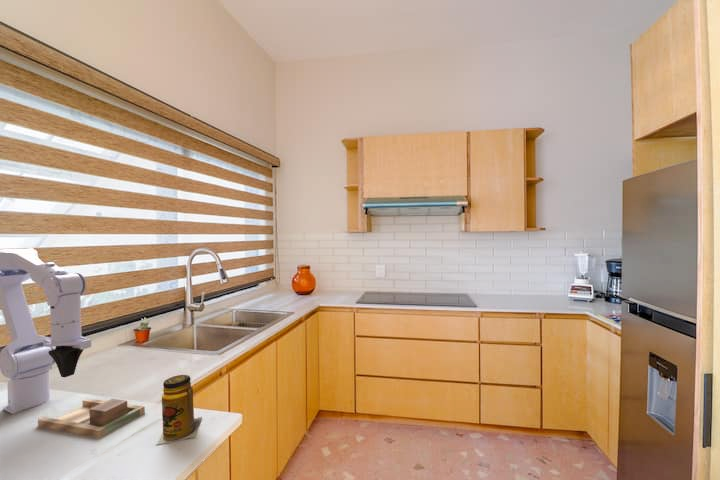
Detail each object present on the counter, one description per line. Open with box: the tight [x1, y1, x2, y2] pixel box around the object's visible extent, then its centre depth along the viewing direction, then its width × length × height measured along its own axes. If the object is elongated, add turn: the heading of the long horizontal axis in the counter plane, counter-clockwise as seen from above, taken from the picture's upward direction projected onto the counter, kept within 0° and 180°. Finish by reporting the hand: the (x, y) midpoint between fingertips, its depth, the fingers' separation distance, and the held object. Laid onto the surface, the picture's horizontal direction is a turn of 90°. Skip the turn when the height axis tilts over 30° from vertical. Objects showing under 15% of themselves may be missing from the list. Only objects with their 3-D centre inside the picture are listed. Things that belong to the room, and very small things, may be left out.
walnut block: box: [89, 398, 128, 427], centre depth 75 cm, size 5×5×4 cm
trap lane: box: [37, 398, 146, 439], centre depth 76 cm, size 20×10×2 cm, turn 73°
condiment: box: [156, 374, 203, 445], centre depth 72 cm, size 7×8×12 cm
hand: (67, 375), depth 81 cm, fingers closed
